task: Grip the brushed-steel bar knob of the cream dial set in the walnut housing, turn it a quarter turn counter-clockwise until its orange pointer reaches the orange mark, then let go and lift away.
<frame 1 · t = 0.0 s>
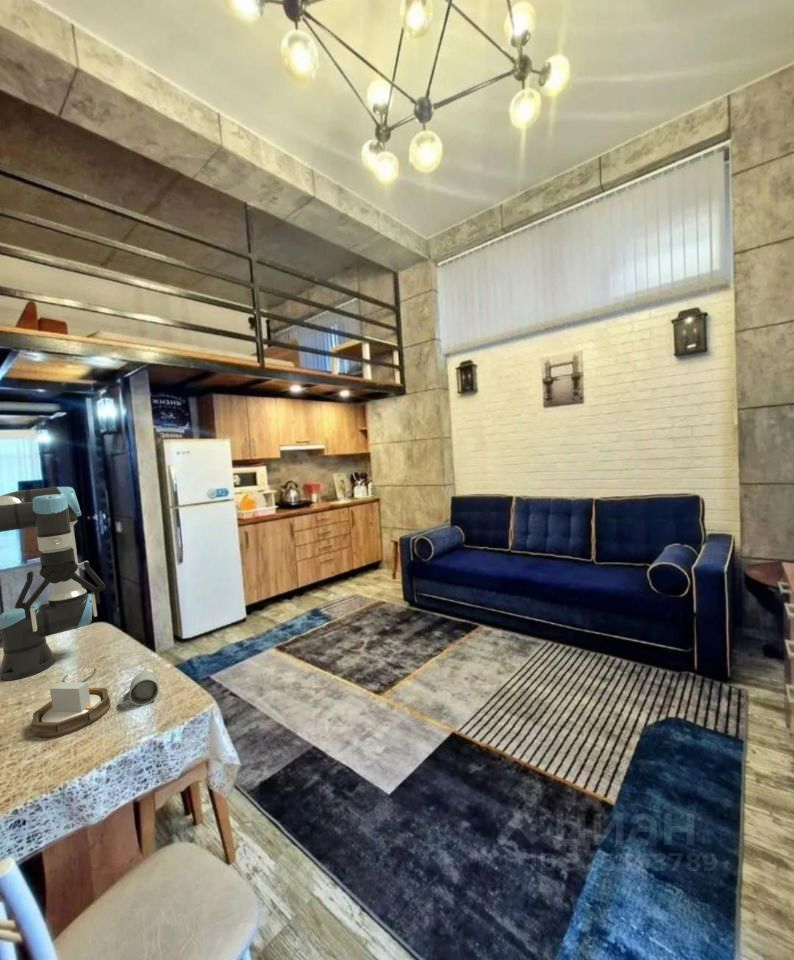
hand: (66, 622, 121), 28 cm above the table, fingers open, 13 cm apart
pliers: (79, 685, 141), on the table
dial housing: (73, 716, 123), on the table
dial: (70, 698, 122), point 6 cm above the table, hinge at 0.0°
ceramic mug: (140, 701, 129), on the table
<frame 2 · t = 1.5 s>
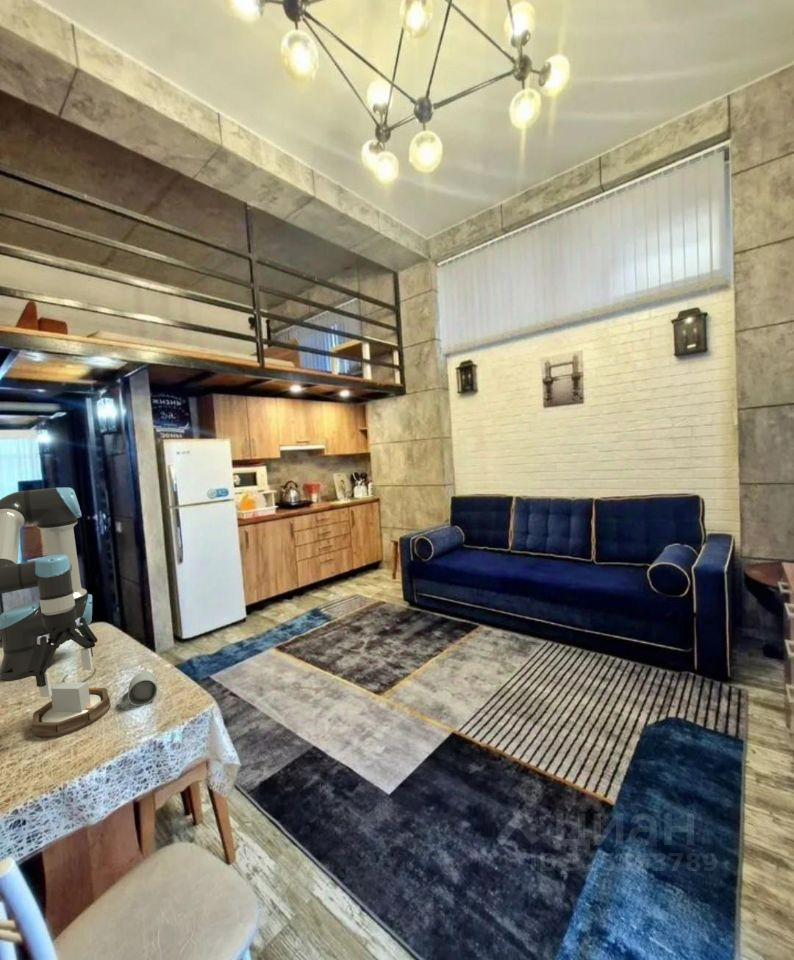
hand: (68, 682, 121), 11 cm above the table, fingers open, 13 cm apart
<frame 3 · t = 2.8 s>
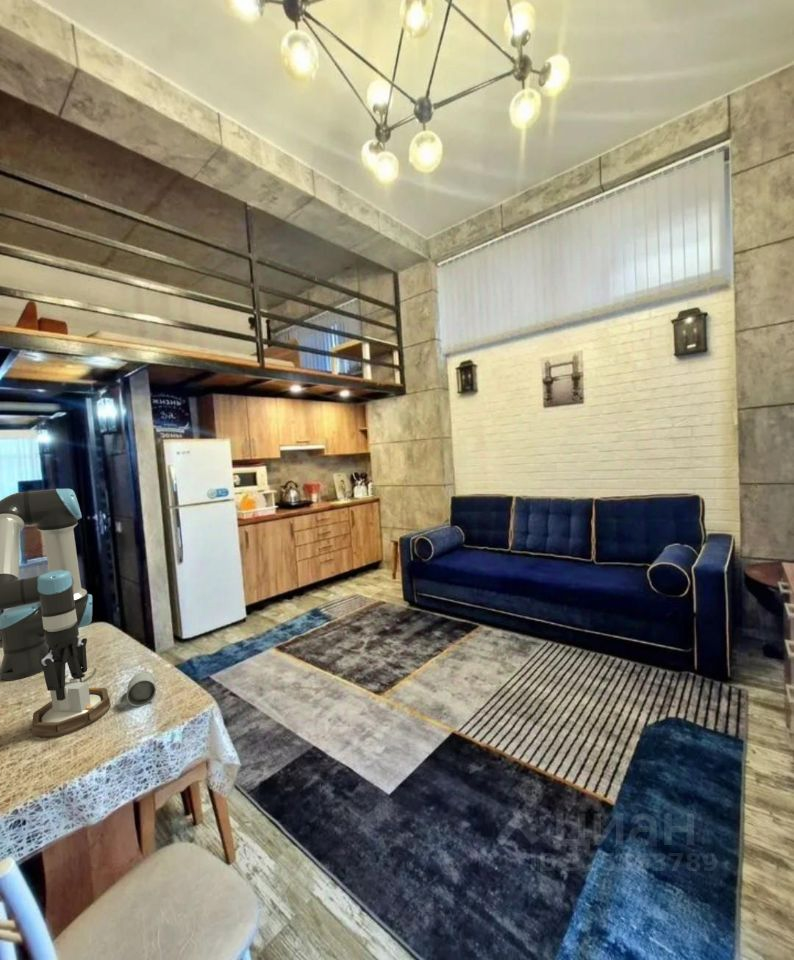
hand: (71, 704, 122), 4 cm above the table, fingers closed on dial, 3 cm apart
dial: (70, 698, 122), point 6 cm above the table, hinge at 0.0°, touching gripper
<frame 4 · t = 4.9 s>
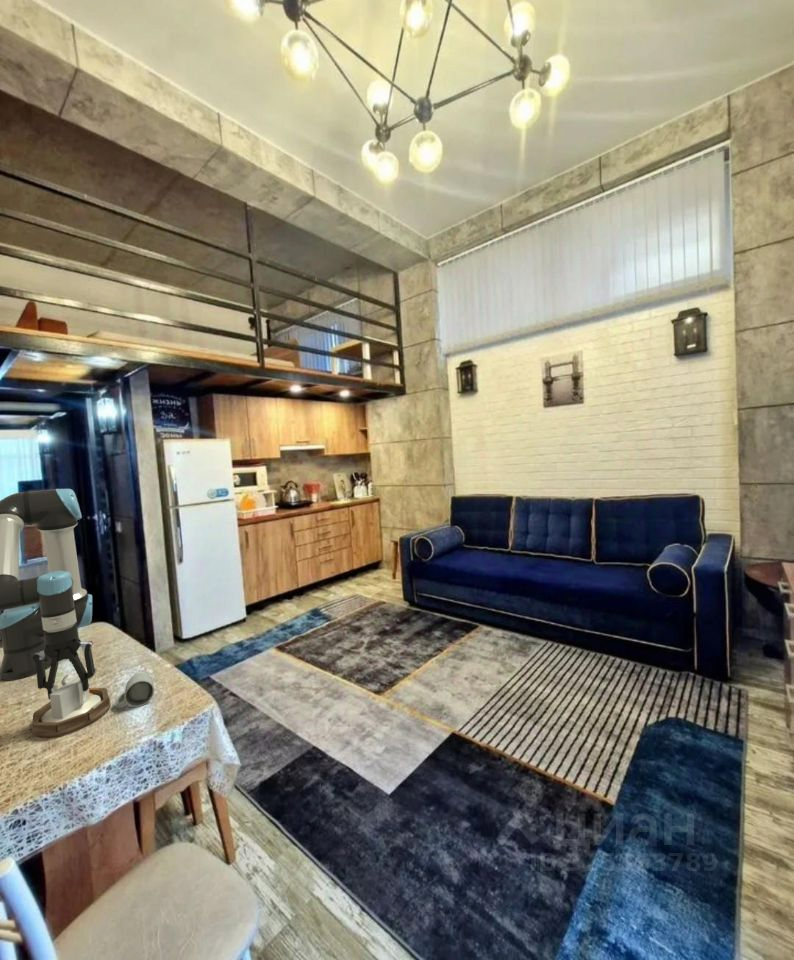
hand: (70, 704, 122), 4 cm above the table, fingers closed on dial, 5 cm apart
dial: (70, 698, 122), point 6 cm above the table, hinge at 89.3°, touching gripper
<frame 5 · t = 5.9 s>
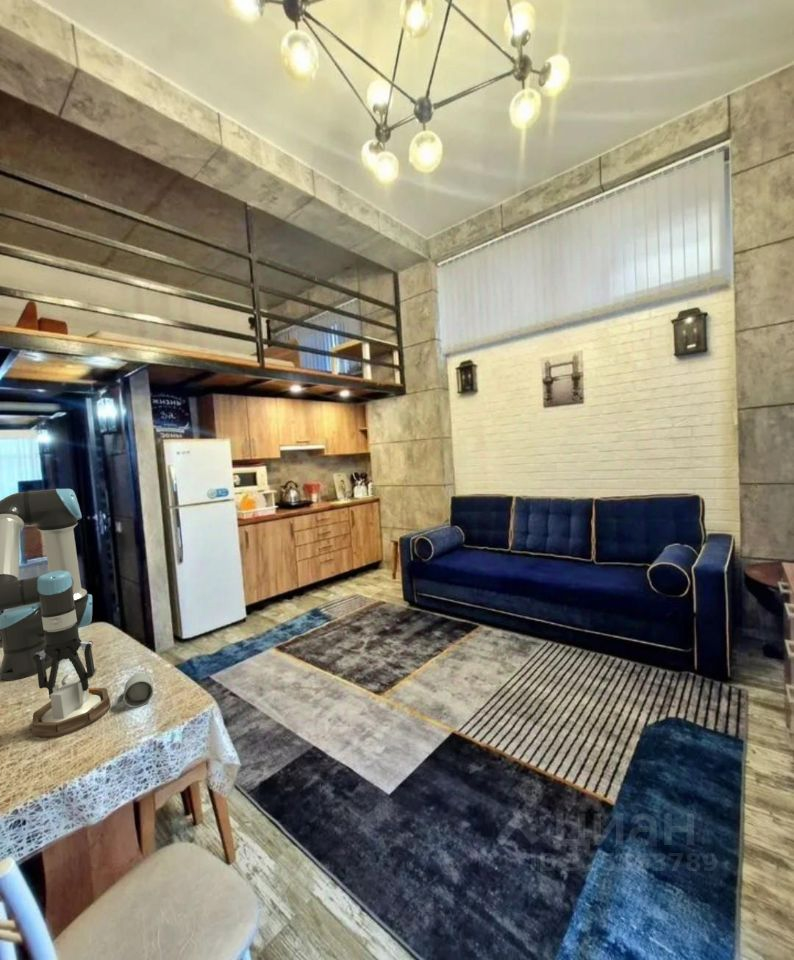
hand: (71, 704, 122), 4 cm above the table, fingers closed on dial, 5 cm apart
dial: (70, 698, 122), point 6 cm above the table, hinge at 92.1°, touching gripper
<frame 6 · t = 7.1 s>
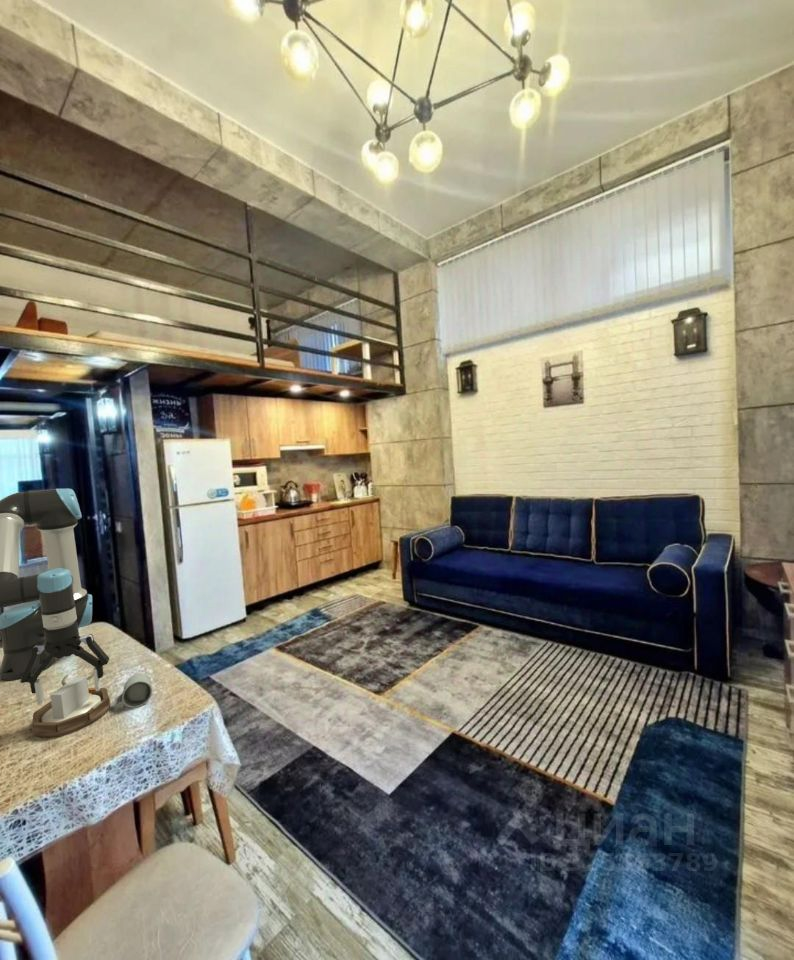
hand: (70, 695, 122), 6 cm above the table, fingers open, 13 cm apart
dial: (70, 698, 122), point 6 cm above the table, hinge at 92.9°
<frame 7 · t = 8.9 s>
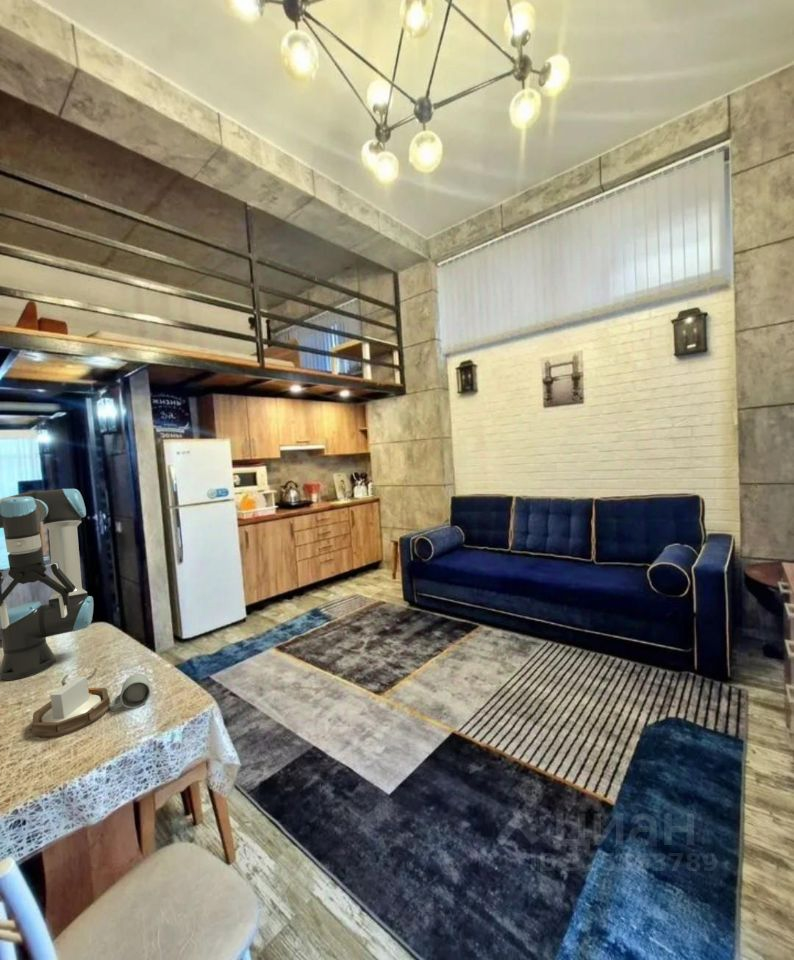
hand: (35, 621, 124), 28 cm above the table, fingers open, 13 cm apart
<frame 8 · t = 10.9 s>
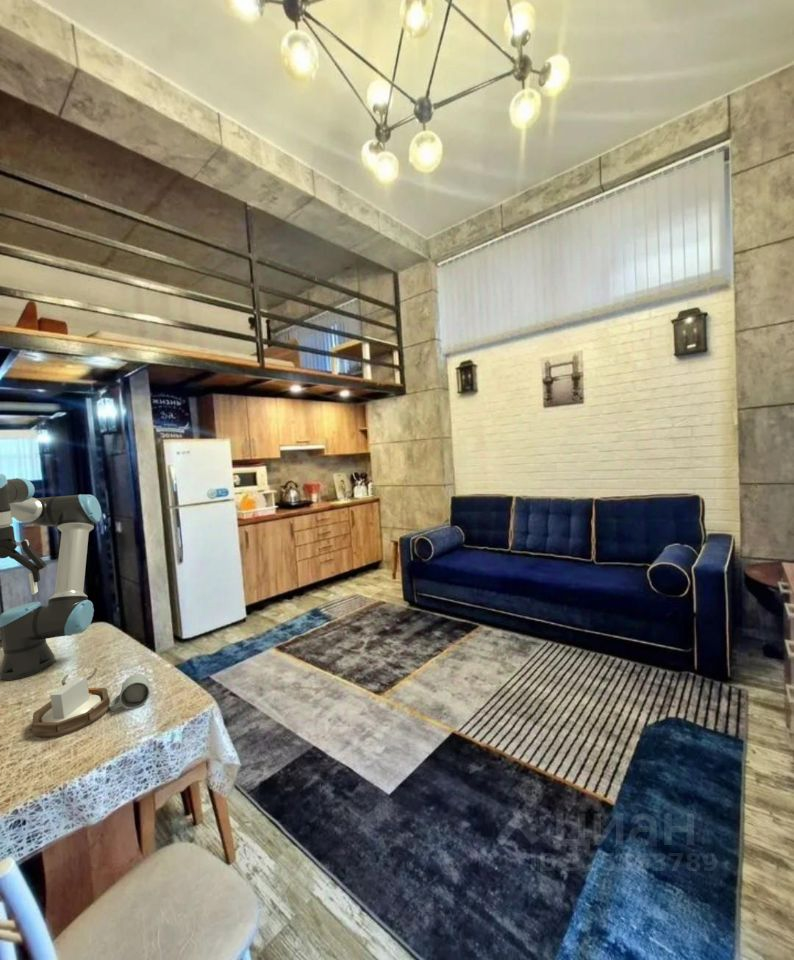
hand: (6, 597, 126), 35 cm above the table, fingers open, 13 cm apart
at the end: dial at +93° (first picture: +0°); ceramic mug moved 2.4 cm from its start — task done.
